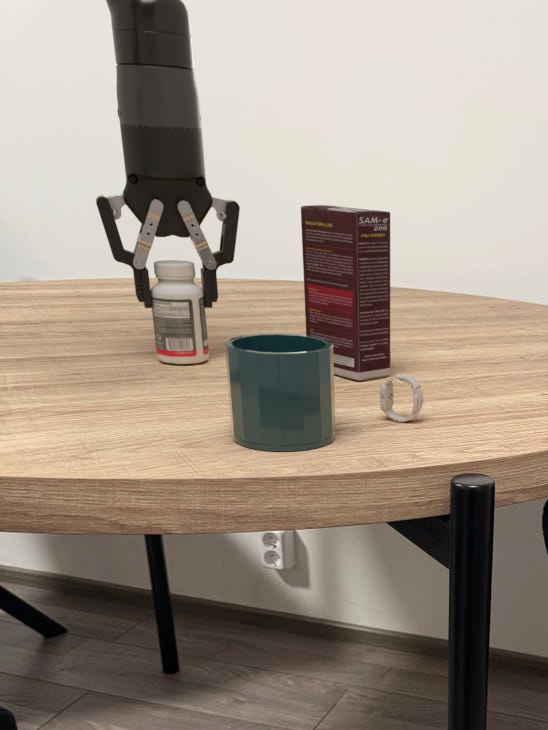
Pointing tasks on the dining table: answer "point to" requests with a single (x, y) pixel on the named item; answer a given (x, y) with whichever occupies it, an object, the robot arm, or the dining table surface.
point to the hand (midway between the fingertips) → (178, 306)
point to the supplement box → (348, 286)
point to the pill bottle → (179, 314)
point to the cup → (281, 391)
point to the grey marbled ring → (387, 395)
